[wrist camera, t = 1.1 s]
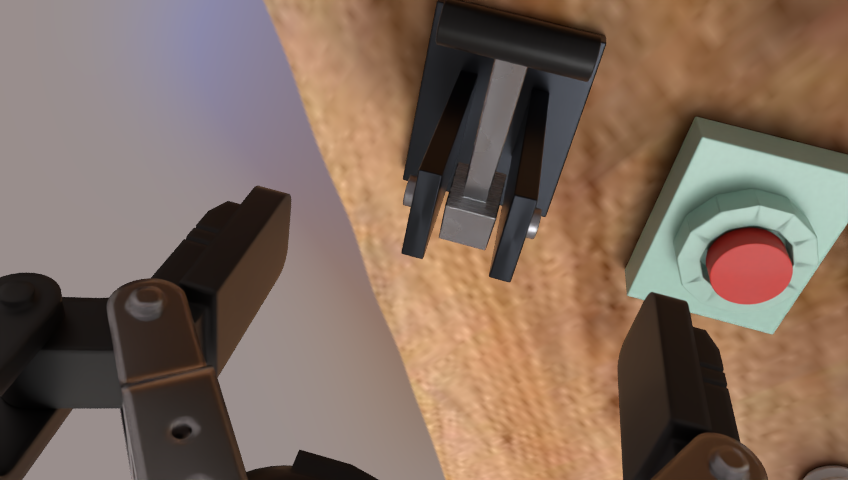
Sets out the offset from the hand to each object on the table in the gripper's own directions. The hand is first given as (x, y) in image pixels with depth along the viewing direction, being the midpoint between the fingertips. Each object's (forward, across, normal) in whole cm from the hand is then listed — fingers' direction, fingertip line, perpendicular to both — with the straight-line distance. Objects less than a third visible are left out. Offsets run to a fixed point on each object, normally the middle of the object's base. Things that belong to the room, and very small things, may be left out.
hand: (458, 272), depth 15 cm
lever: (+13, 0, +2) cm, 13 cm away
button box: (+25, -15, +10) cm, 31 cm away
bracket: (+25, 0, +7) cm, 26 cm away
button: (+21, -15, +10) cm, 27 cm away
